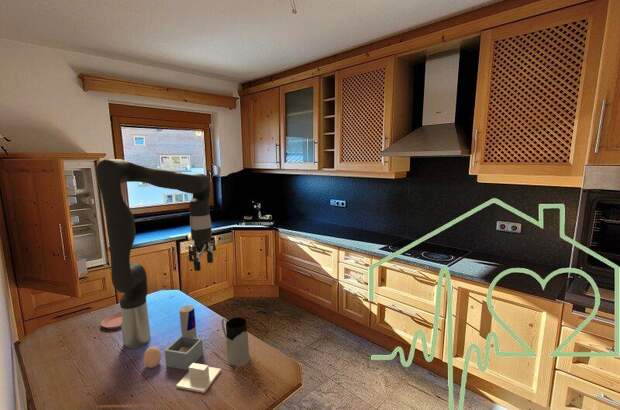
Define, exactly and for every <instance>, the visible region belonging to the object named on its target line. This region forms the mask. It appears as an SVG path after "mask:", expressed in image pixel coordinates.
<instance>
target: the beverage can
mask: <svg viewBox="0 0 620 410" xmlns="http://www.w3.org/2000/svg"><path fill="white" fill-rule="evenodd" d="M179 321H180V329H181V336H187V337H193V338H198V336H197V324H196V315H195V307H194V306H193V305H189V304H188V305H184V306H181V307H180V308H179Z"/></svg>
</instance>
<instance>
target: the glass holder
mask: <svg viewBox="0 0 620 410" xmlns="http://www.w3.org/2000/svg"><path fill="white" fill-rule="evenodd" d="M224 321H225V323H224ZM247 322H248V321H247V319H246V318H245V317H241V316H240V317H232V318H229V319H227V317H224V318H222V319H221V327H222V331H223V334H224V337H225V339H226V340H225V341H226V351H227V352H226V353H227V354H226V355H227V359H226V362H227V363H228V364H229V365H231V366H235V367H236V368H240V367H243V366H245V365H247V364H248V363H249V362H250V360H251V354H250V350H249V333H248V325H247V324H248V323H247Z"/></svg>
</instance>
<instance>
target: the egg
mask: <svg viewBox="0 0 620 410" xmlns="http://www.w3.org/2000/svg"><path fill="white" fill-rule="evenodd" d="M142 359H143V360H142V361H143V363H144V366H145V367H147V368H151V369H152V368H155V367H157V366H158V365H159V364H160V362H161V360H162V354H161V350H160V349H159V348H157V347H156V346H150V347H148V348H147V349H146V350H145V352H144V354H143V358H142Z"/></svg>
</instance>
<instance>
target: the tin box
mask: <svg viewBox="0 0 620 410" xmlns="http://www.w3.org/2000/svg"><path fill="white" fill-rule="evenodd" d="M203 345H204V344H203V338H199V337H197V338H193V337H187V336H182V335H180V336H179V337H177V339H176V340H175V341H173V342H172V343H171V344H170V345H169V346H168V347H166V349H165V350H164V356H165V363H166V364H165V365H166V367H168V368H175V369H180V370H185V371H189V366H190V365H191V364H192V363H197V362H198V361H199V359H200V358H201V357H202V356H203V355H204V347H203ZM181 347H192V348H191V349H190V350H189V351H188V352H187V353H185V352H179V350H180V348H181Z"/></svg>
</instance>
